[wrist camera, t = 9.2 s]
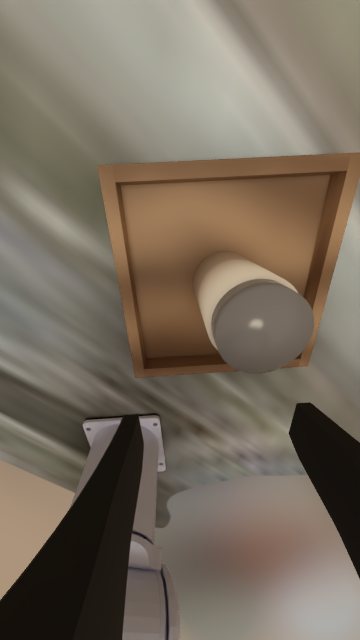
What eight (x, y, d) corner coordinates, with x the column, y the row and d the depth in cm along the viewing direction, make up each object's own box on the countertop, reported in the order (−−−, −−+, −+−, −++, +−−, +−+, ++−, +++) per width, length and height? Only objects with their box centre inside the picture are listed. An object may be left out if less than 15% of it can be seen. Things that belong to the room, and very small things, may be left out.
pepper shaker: (249, 307, 17) (306, 373, 10) (193, 310, 17) (210, 379, 10) (254, 249, 15) (331, 277, 8) (192, 252, 15) (211, 285, 8)
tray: (295, 352, 20) (307, 366, 18) (138, 362, 20) (135, 377, 18) (339, 160, 13) (365, 152, 12) (107, 172, 13) (97, 165, 11)
